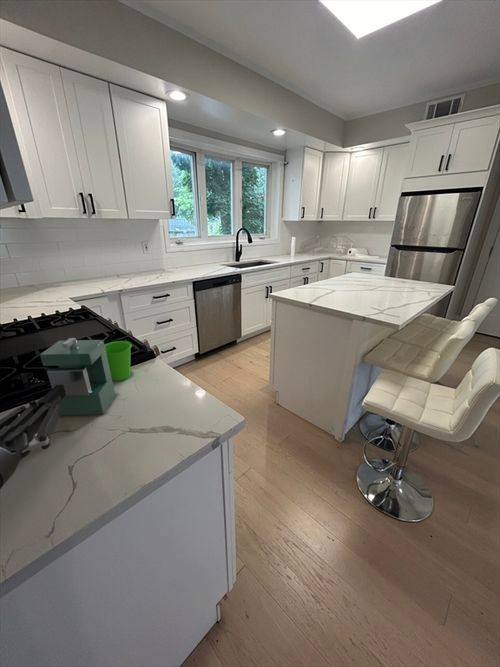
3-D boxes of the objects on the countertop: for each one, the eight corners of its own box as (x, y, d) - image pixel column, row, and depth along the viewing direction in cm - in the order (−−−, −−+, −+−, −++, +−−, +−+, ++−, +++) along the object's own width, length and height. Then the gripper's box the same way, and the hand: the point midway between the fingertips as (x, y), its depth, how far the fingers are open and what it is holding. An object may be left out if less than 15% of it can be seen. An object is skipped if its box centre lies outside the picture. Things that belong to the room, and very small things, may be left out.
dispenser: (59, 417, 70) (36, 346, 63) (75, 398, 78) (57, 332, 70) (104, 416, 71) (87, 345, 63) (115, 397, 78) (102, 332, 71)
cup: (99, 383, 85) (91, 351, 81) (120, 369, 93) (114, 339, 89) (122, 388, 83) (116, 355, 78) (142, 373, 91) (137, 343, 86)
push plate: (54, 396, 66) (46, 371, 64) (58, 392, 68) (50, 367, 65) (89, 395, 67) (82, 370, 64) (92, 391, 68) (86, 367, 66)
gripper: (-65, 501, 42) (35, 404, 63) (26, 496, 43) (94, 402, 64) (-88, 464, 39) (26, 376, 61) (10, 459, 40) (87, 374, 61)
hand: (61, 389), depth 62 cm, fingers closed
